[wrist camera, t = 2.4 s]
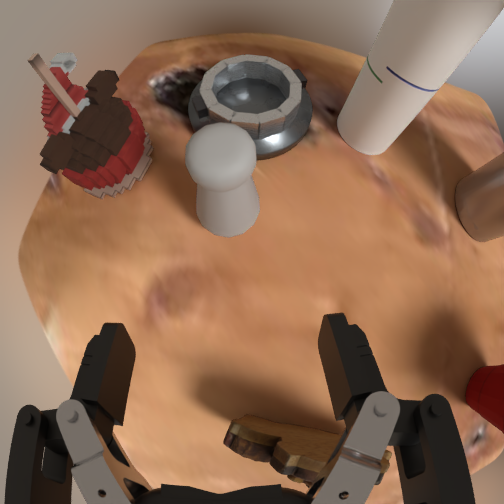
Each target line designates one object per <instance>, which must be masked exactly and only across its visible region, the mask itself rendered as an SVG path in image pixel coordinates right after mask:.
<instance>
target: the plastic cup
mask: <svg viewBox="0 0 504 504" xmlns="http://www.w3.org/2000/svg"><path fill="white" fill-rule="evenodd" d="M466 402H467V404H468V405H469V406H470V407H471V408H472V409H473V410H475V411H476V412H478V413H479V414H480V415H481V416H482V417H483V418H485V419H486V420H487V421H489V422H490V423H491V424H493V425H494V426H495V427H497V428H498V429H499V430H501V431H502V432H503V434H504V364H502V365H498V366H486V367H482V368H479V369H478V370H477V371H476V372H475V373H474V374H473V376H472V378H471V379H470V381H469V384H468V386H467V390H466Z"/></svg>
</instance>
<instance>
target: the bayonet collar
mask: <svg viewBox="0 0 504 504" xmlns="http://www.w3.org/2000/svg"><path fill="white" fill-rule="evenodd" d="M306 83H307V79H306V78H305V77H304V75H303V74H302V73H301V71H300V70H299V69H296V70H292V69H291V68H290V67H289V66H287V65H285V64H283V63H281V62H279V61H277V60H275V59H273V58H271V57H269V58H268V56H258V55H247V54H245V56H244V55H240V56H236V57H232V58H228V59H224V60H222V61H220V62H219V63H217V64H216V65H215V66H213V67H212V68H211V69H210V70H208V71H207V72H206V73H205V74H204V77H203V80H201V81H200V82H199V83H198V85H197V86H196V87H195V89H194V90H193V92H192V94H191V97H190V100H189V104H188V112H189V118H190V122H191V125H192V128H193V130H194V132H197V131H198V130H200V129H201V128H202V127H204V126H206V125H210V124H214V123H219V122H223V123H231V124H236V125H237V126H239V127H241V128H242V129H244V130H246V131H247V132H248V134H249V135H250V136H251V138H252V139H253V141H254V143H255V146H256V160H265V159H270V158H273V157H277V156H279V155H282V154H284V153H286V152H288V151H289V150H291V149H292V148H294V147H295V146H296V145H297V144H298V143H299V142H300V141H301V140H302V139H303V137H304V136H305V134H306V132H307V130H308V127H309V124H310V122H311V118H312V111H313V110H312V103H311V99H310V96H309V94H308V92H307V91H306V89H305V87H306Z"/></svg>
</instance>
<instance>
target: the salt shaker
mask: <svg viewBox="0 0 504 504" xmlns="http://www.w3.org/2000/svg"><path fill="white" fill-rule="evenodd" d="M185 165H186V167H187V169H188V171H189V173H190V175H191V177H192V179H193V181H194V182H196V183H197V195H196V214H197V216H198V218H199V220H200V222H201V224H202V226H203V227H204V228H206V229H207V230H209V231H210V232H211V233H213V234H214V235H218V236H223V237H228V238H229V237H233V236H237V235H240V234H243V233H244V232H245V231H247V230H248V229H249V228H250V227H251V226H253V225H254V223H255V221H256V218H257V216H258V214H259V212H260V205H259V196H258V193H257V190H256V187H255V184H254V181H253V179H252V176H251V174H252V172H253V170H254V168H255V166H256V146H255V143H254V141H253V139H252V138H251V136H250V135H249V134H248V132H247V131H246V130H244V129H242V128H241V127H239V126H237V125H236V124H231V123H223V122H219V123H214V124H210V125H206V126H204V127H202V128H201V129H200V130H198V131H197V132H195V133H194V134H193V135H192V137H191V138H190V140H189V142H188V143H187V145H186V154H185Z"/></svg>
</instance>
